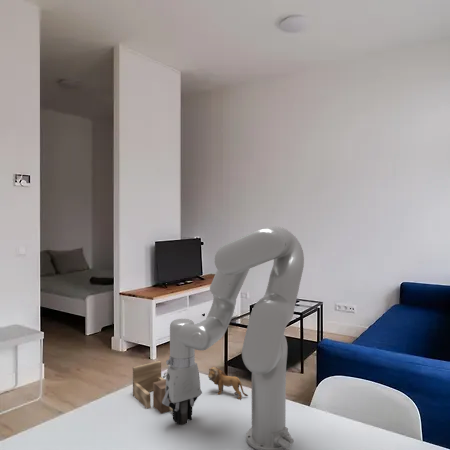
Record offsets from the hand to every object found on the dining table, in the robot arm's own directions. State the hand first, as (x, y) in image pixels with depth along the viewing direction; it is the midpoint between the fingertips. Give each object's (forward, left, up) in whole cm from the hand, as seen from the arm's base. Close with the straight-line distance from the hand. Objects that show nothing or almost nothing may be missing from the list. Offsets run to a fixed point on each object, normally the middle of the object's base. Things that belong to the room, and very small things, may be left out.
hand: (182, 419), depth 123 cm
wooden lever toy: (+6, 0, -1) cm, 7 cm away
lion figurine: (+8, -22, -1) cm, 23 cm away
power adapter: (+29, -12, -1) cm, 32 cm away
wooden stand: (+20, 0, -1) cm, 21 cm away
